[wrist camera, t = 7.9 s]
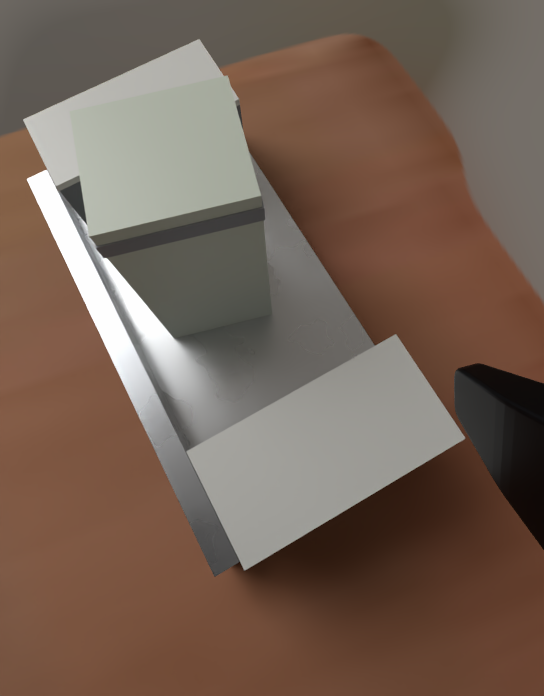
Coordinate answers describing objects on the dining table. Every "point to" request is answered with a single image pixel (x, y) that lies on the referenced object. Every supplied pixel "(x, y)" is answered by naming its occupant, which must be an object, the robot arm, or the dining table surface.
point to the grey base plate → (210, 348)
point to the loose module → (177, 203)
